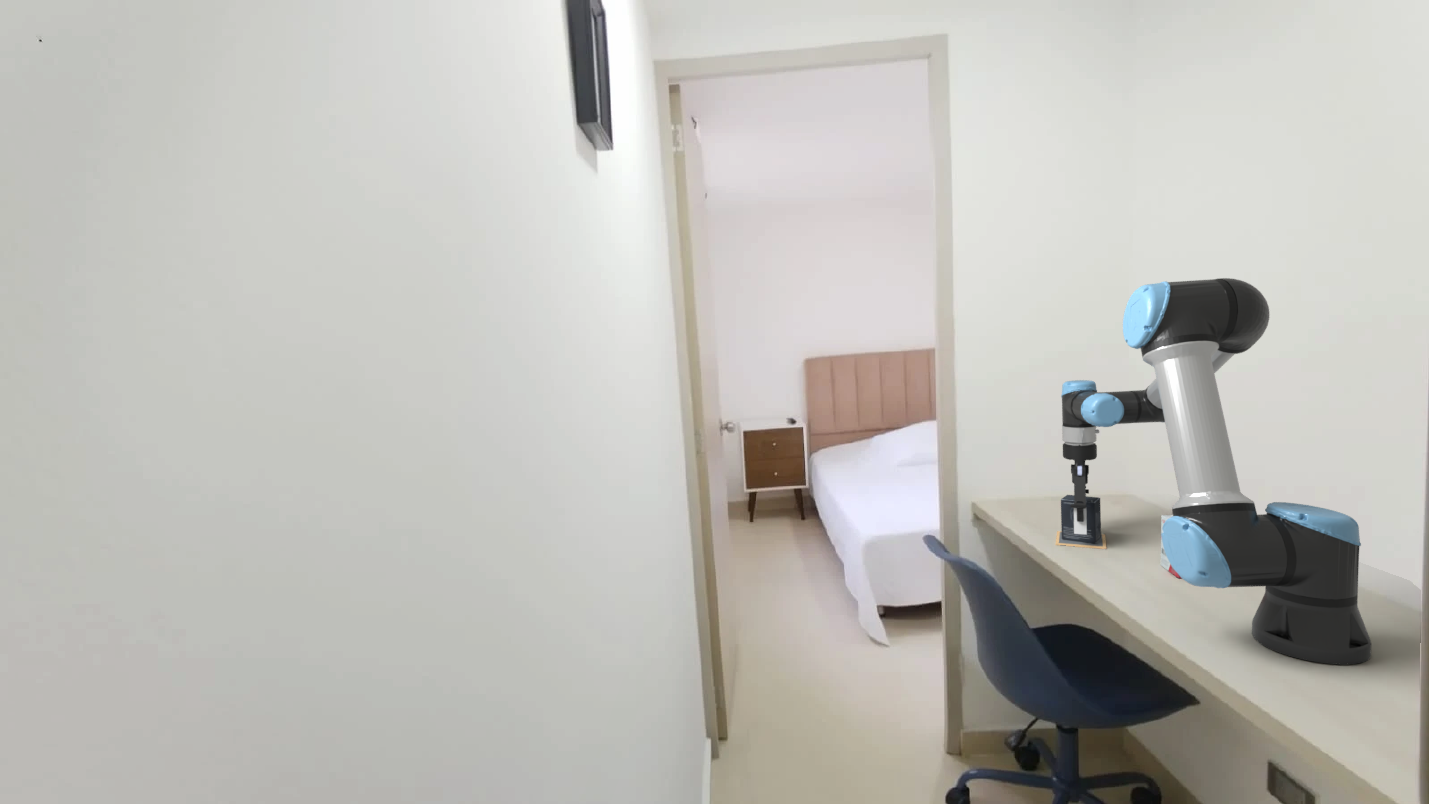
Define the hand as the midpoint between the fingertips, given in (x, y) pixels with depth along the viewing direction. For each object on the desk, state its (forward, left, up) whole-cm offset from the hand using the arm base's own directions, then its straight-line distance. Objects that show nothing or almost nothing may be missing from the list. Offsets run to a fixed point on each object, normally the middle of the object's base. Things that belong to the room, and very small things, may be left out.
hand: (1080, 526), depth 175 cm
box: (0, 0, -4) cm, 4 cm away
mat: (0, 0, -4) cm, 4 cm away
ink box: (-17, -21, -4) cm, 27 cm away
